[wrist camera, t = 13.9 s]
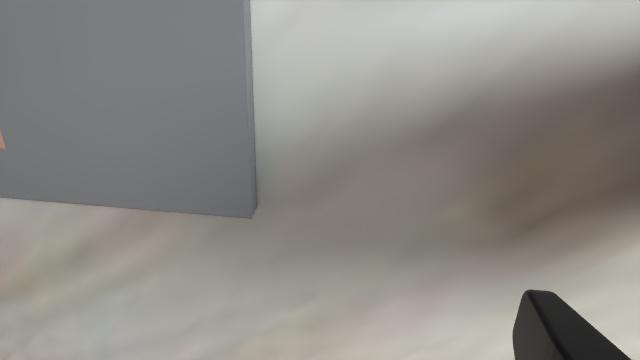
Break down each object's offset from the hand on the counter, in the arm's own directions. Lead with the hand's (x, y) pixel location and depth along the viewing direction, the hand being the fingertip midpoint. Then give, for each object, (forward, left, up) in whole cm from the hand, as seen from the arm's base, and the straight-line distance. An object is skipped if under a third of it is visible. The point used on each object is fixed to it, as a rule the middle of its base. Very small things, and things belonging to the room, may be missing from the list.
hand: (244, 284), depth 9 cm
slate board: (+9, +8, -13) cm, 18 cm away
